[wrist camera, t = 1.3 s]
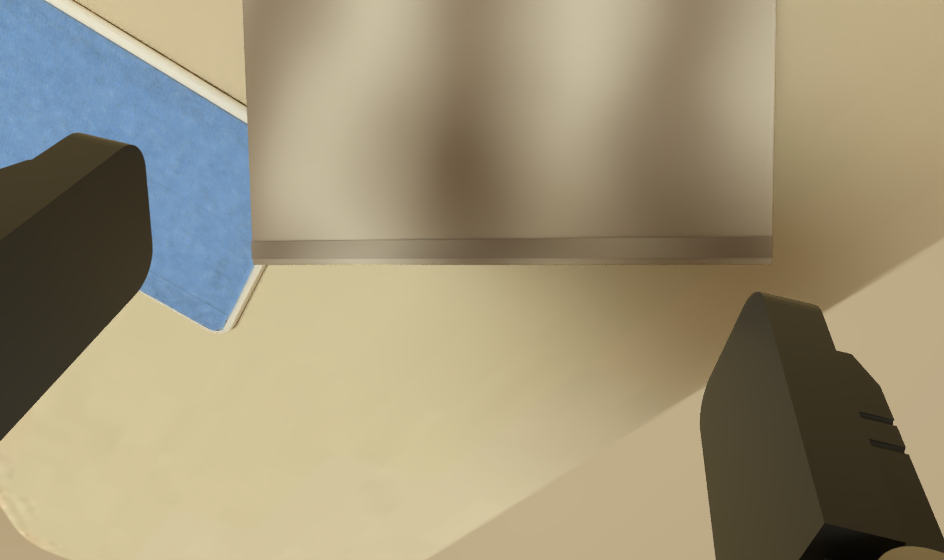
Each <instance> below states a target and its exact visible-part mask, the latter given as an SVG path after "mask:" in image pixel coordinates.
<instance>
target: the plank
mask: <svg viewBox="0 0 944 560" xmlns="http://www.w3.org/2000/svg"><path fill="white" fill-rule="evenodd" d="M243 24H244V49H245V74H246V99H247V124H248V149H249V174H250V199H251V225H252V241H251V251H252V259H253V265H677V264H772V213H773V153H774V93H775V33H776V0H243Z"/></svg>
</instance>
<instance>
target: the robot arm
mask: <svg viewBox="0 0 944 560" xmlns="http://www.w3.org/2000/svg"><path fill="white" fill-rule="evenodd" d="M152 254H153V243H152V232H151V220H150V209H149V197H148V186H147V175H146V165H145V160H144V156H143V154H142V152H141V150H140V149H139V148H138V147H137V146H134V145H131V144H127V143H123V142H118V141H114V140H110V139H105V138H101V137H97V136H93V135H88V134H84V133H77V132H76V133H72V134H70V135H68V136H66V137H65V138H63V139H62V140H60V141H59V142H57V143H56V144H54V145H53V146H51V147H50V148H48V149H47V150H45V151H44V152H42V153H41V154H39V155H38V156H36V157H35V158H33V159H32V160H26V161H22V162H19V163H16V164H13V165H10V166H7V167H4V168H1V169H0V441H1V440H2V439H3V438H4V437H5V435H6V434H7V433H8V432H9V431H10V430H11V429H12V428H13V427H14V426H15V425H16V423H17V422H18V421H19V420H20V419H21V418H22V417H23V416H24V415H25V414H26V413H27V412H28V410H29V409H30V408H31V407H32V406H33V405H34V404H35V403H36V402H37V401H38V400H39V399H40V397H41V396H42V395H43V394H44V393H45V392H46V391H47V390H48V389H49V388H50V387H51V386H52V384H53V383H54V382H55V381H56V380H57V379H58V378H59V377H60V376H61V375H62V374H63V373H64V371H65V370H66V369H67V368H68V367H69V366H70V365H71V364H72V363H73V362H74V361H75V359H76V358H77V357H78V356H79V355H80V354H81V353H82V352H83V351H84V350H85V349H86V348H87V346H88V345H89V344H90V343H91V342H92V341H93V340H94V339H95V338H96V337H97V336H98V335H99V333H100V332H101V331H102V330H103V329H104V328H105V327H106V326H107V325H108V324H109V323H110V322H111V320H112V319H113V318H114V317H115V316H116V315H117V314H118V313H119V312H120V311H121V310H122V309H123V307H124V306H125V305H126V304H127V303H128V302H129V301H130V300H131V299H132V298H133V297H134V296H135V294H136V293H137V292H138V291H139V290H140V288H141V287H142V285H143V283H144V282H145V280H146V277H147V275H148V272H149V269H150V265H151V261H152ZM893 421H894V418H893V416H892V414H891V411H890V409H889V406H888V404H887V402H886V399H885V397H884V394H883V392H882V390H881V387H880V386H879V385H878V383H877V382H876V381H875V380H874V379H873V378H872V377H871V376H870V375H869V373H868V372H867V371H866V370H865V369H864V368H863V367H862V365H861V364H860V363H859V362H858V361H857V360H856V359H855V358H854V356H853V355H852V354H848V353H844V352H840V351H836V349H835V346H834V344H833V341H832V338H831V335H830V333H829V330H828V327H827V325H826V322H825V319H824V316H823V314H822V311H821V309H820V308H819V307H818V306H816V305H813V304H809V303H804V302H800V301H796V300H791V299H787V298H783V297H778V296H774V295H770V294H766V293H761V292H755V293H753V294H752V295H751V296H750V297H749V299H748V300H747V302H746V303H745V305H744V307H743V309H742V311H741V313H740V315H739V317H738V319H737V322H736V324H735V326H734V328H733V330H732V332H731V334H730V336H729V338H728V341H727V343H726V345H725V347H724V349H723V351H722V353H721V355H720V357H719V360H718V362H717V364H716V366H715V368H714V370H713V372H712V374H711V376H710V379H709V381H708V383H707V386H706V389H705V393H704V396H703V401H702V406H701V413H700V431H701V439H702V447H703V456H704V464H705V472H706V481H707V490H708V498H709V506H710V514H711V522H712V531H713V540H714V548H715V556H716V560H944V538H943V536H942V533H941V531H940V528H939V526H938V523H937V521H936V519H935V517H934V514H933V511H932V509H931V507H930V504H929V502H928V499H927V497H926V495H925V492H924V490H923V488H922V485H921V483H920V480H919V478H918V476H917V473H916V471H915V468H914V466H913V464H912V461H911V459H910V457H909V455H908V454H905V453H904V451H905V445H904V442H903V440H902V438H901V435H900V433H899V430H898V428H897V426H894V425H893Z"/></svg>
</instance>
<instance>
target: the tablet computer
mask: <svg viewBox="0 0 944 560" xmlns="http://www.w3.org/2000/svg"><path fill="white" fill-rule="evenodd" d="M76 132H77V133H84V134H88V135H93V136H97V137H101V138H105V139H110V140H114V141H118V142H123V143H127V144H131V145H134V146H137V147H138V148H139V149H140V150H141V152H142V154H143V156H144V160H145V165H146V175H147V186H148V197H149V209H150V220H151V232H152V243H153V254H152V261H151V265H150V269H149V272H148V275H147V277H146V280H145V282H144V283H143V285H142V287H141V288H140V290H139V292H140V293H142V294H144V295H146V296H148V297H149V298H151V299H153V300H155V301H156V302H158V303H160V304H162V305H163V306H165V307H167V308H169V309H171V310H173V311H174V312H176V313H178V314H180V315H181V316H183V317H185V318H187V319H189V320H190V321H192V322H194V323H196V324H198V325H200V326H201V327H203V328H205V329H206V330H208V331H210V332H213V333H217V334H222V333H226V332H228V331H229V330H230V329H232V328H233V327H234V326H235V324H236V323H237V321H238V319H239V317H240V315H241V313H242V311H243V309H244V308H245V306H246V304H247V302H248V300H249V298H250V296H251V294H252V292H253V290H254V288H255V286H256V284H257V282H258V280H259V278H260V276H261V275H262V273H263V271H264V269H265V267H266V265H253V259H252V251H251V241H252V225H251V199H250V174H249V149H248V124H247V107H246V106H244V105H242V104H241V103H239V102H237V101H236V100H234V99H232V98H231V97H229V96H228V95H226V94H224V93H223V92H221V91H219V90H218V89H216V88H214V87H213V86H211V85H209V84H208V83H206V82H205V81H203V80H201V79H200V78H198V77H196V76H195V75H193V74H192V73H190V72H188V71H187V70H185V69H183V68H182V67H180V66H179V65H177V64H175V63H174V62H172V61H170V60H169V59H167V58H166V57H164V56H162V55H161V54H159V53H157V52H156V51H154V50H152V49H151V48H149V47H147V46H146V45H144V44H143V43H141V42H139V41H138V40H136V39H134V38H133V37H131V36H130V35H128V34H126V33H125V32H123V31H121V30H120V29H118V28H117V27H115V26H113V25H112V24H110V23H109V22H107V21H105V20H104V19H102V18H100V17H99V16H97V15H96V14H94V13H92V12H91V11H89V10H87V9H86V8H84V7H82V6H81V5H79V4H78V3H76V2H74V1H73V0H0V169H1V168H4V167H7V166H10V165H13V164H16V163H19V162H22V161H26V160H32V159H33V158H35V157H36V156H38V155H39V154H41V153H42V152H44V151H45V150H47V149H48V148H50V147H51V146H53V145H54V144H56V143H57V142H59V141H60V140H62V139H63V138H65V137H66V136H68V135H70V134H72V133H76Z"/></svg>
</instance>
